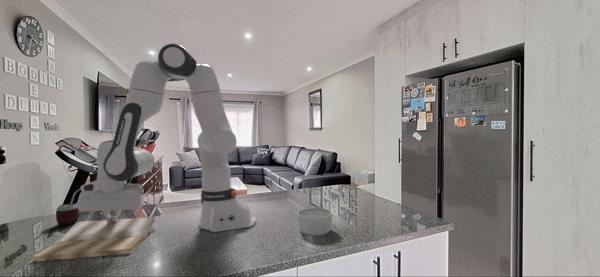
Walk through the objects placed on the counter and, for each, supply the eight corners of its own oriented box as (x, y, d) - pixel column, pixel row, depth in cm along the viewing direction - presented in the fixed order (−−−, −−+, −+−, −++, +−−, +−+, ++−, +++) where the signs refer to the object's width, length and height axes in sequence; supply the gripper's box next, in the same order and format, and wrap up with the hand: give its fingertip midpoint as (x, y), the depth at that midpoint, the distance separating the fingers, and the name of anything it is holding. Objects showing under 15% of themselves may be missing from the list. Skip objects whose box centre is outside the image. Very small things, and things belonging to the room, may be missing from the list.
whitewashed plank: (154, 220, 101) (153, 217, 101) (144, 239, 92) (144, 235, 92) (77, 225, 97) (76, 221, 96) (59, 245, 88) (58, 241, 87)
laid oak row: (143, 240, 91) (143, 235, 91) (130, 253, 81) (130, 248, 81) (57, 247, 87) (57, 242, 87) (32, 261, 77) (32, 256, 77)
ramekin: (301, 239, 91) (301, 219, 91) (293, 226, 104) (293, 208, 104) (337, 235, 94) (337, 216, 94) (325, 223, 107) (325, 206, 107)
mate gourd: (55, 224, 108) (54, 188, 108) (80, 219, 114) (79, 185, 113) (56, 229, 103) (55, 191, 103) (82, 224, 108) (81, 187, 108)
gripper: (146, 181, 102) (146, 217, 102) (86, 183, 98) (86, 220, 98) (139, 185, 95) (139, 223, 96) (75, 186, 92) (75, 226, 92)
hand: (112, 221), depth 97 cm, fingers closed, pressing on whitewashed plank
